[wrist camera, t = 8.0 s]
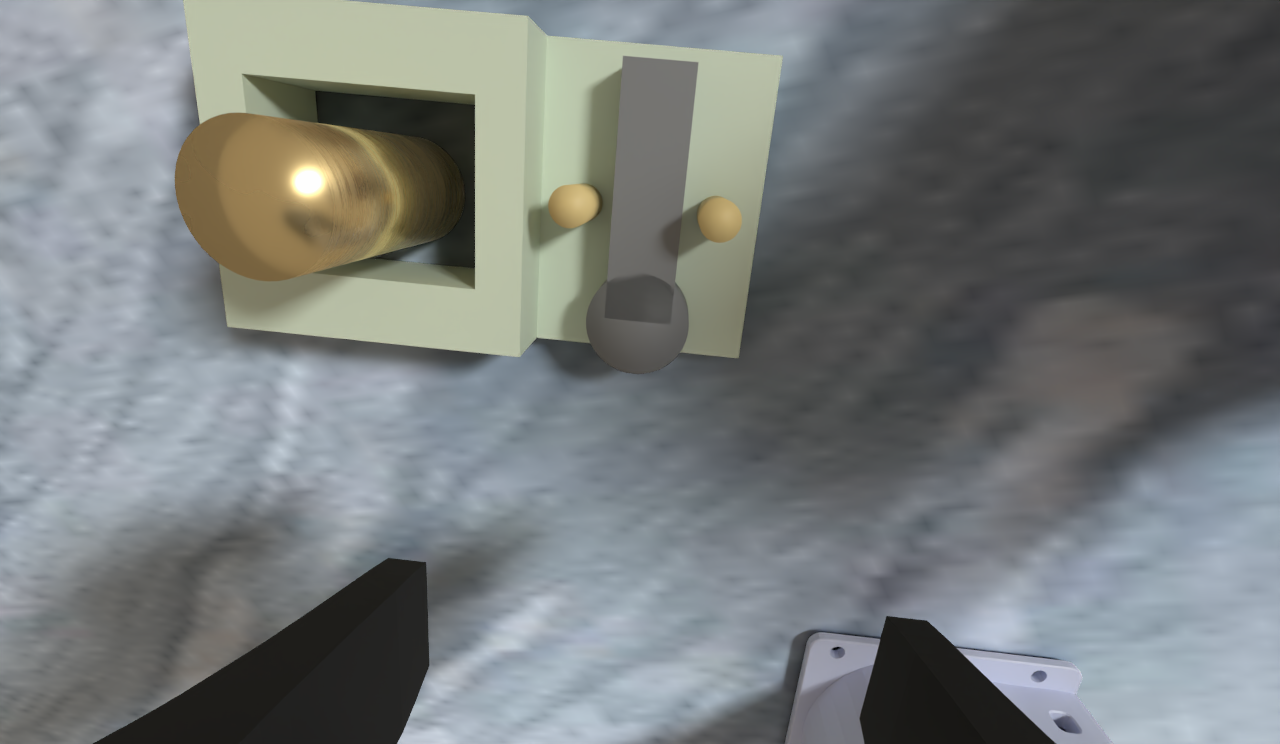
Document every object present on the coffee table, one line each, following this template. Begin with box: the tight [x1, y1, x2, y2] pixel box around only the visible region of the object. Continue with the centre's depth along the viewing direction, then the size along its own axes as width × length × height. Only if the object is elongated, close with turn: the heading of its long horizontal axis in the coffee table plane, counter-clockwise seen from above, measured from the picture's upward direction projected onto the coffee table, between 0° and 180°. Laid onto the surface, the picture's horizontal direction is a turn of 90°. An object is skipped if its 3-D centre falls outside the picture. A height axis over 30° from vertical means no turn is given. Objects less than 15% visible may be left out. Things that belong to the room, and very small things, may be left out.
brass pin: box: [175, 112, 465, 281], centre depth 14 cm, size 3×3×7 cm
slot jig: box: [183, 0, 783, 374], centre depth 16 cm, size 14×8×3 cm, turn 85°
